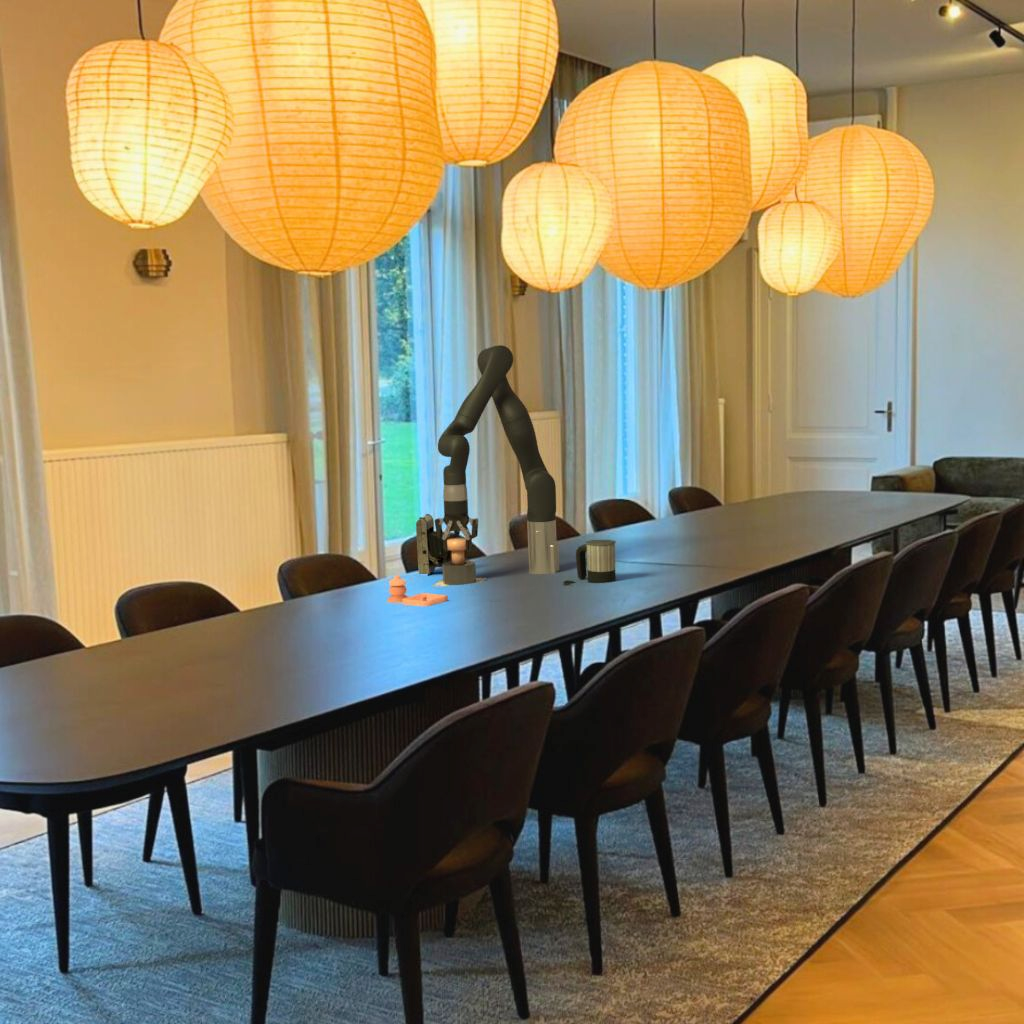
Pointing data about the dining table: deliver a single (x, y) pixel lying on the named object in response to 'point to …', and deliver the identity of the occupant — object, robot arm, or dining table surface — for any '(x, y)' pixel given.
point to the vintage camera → (430, 546)
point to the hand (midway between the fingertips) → (457, 551)
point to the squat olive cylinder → (459, 573)
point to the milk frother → (596, 561)
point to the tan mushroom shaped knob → (457, 550)
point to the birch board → (449, 585)
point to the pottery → (398, 596)
